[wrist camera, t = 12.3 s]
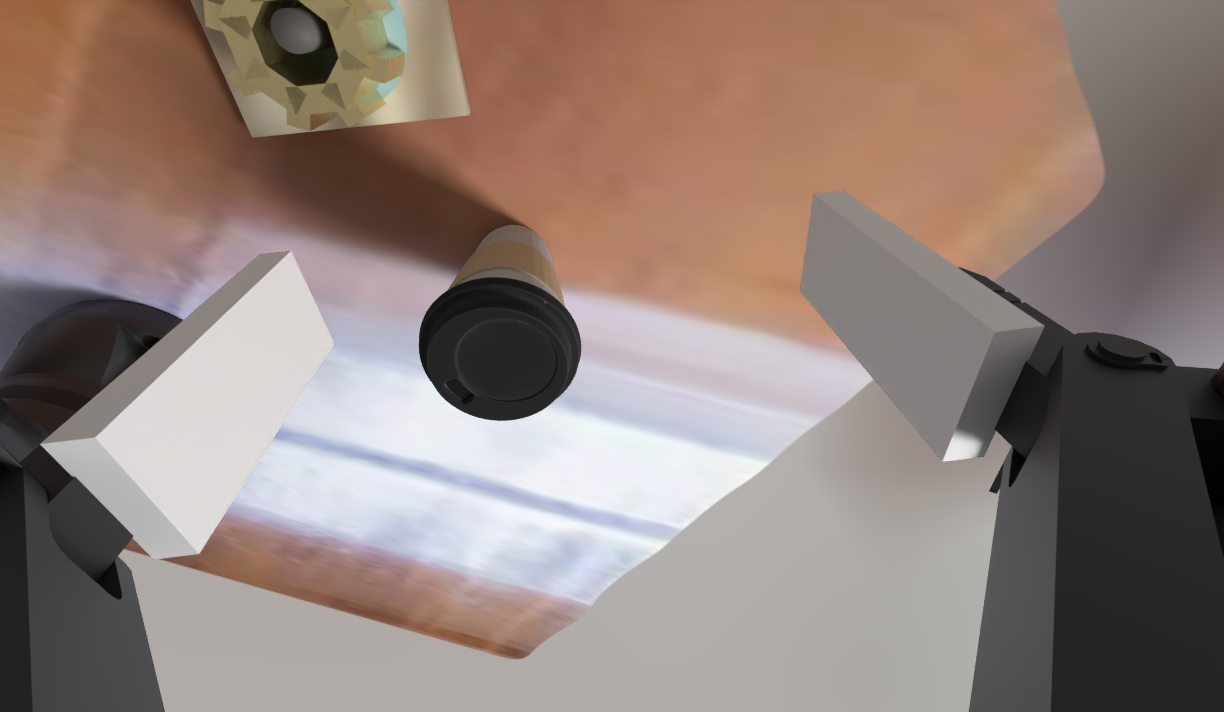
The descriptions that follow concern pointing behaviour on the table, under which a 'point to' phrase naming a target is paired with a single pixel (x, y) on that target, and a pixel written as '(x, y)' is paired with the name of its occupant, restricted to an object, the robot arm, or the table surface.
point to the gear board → (410, 97)
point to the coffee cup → (502, 331)
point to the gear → (305, 90)
